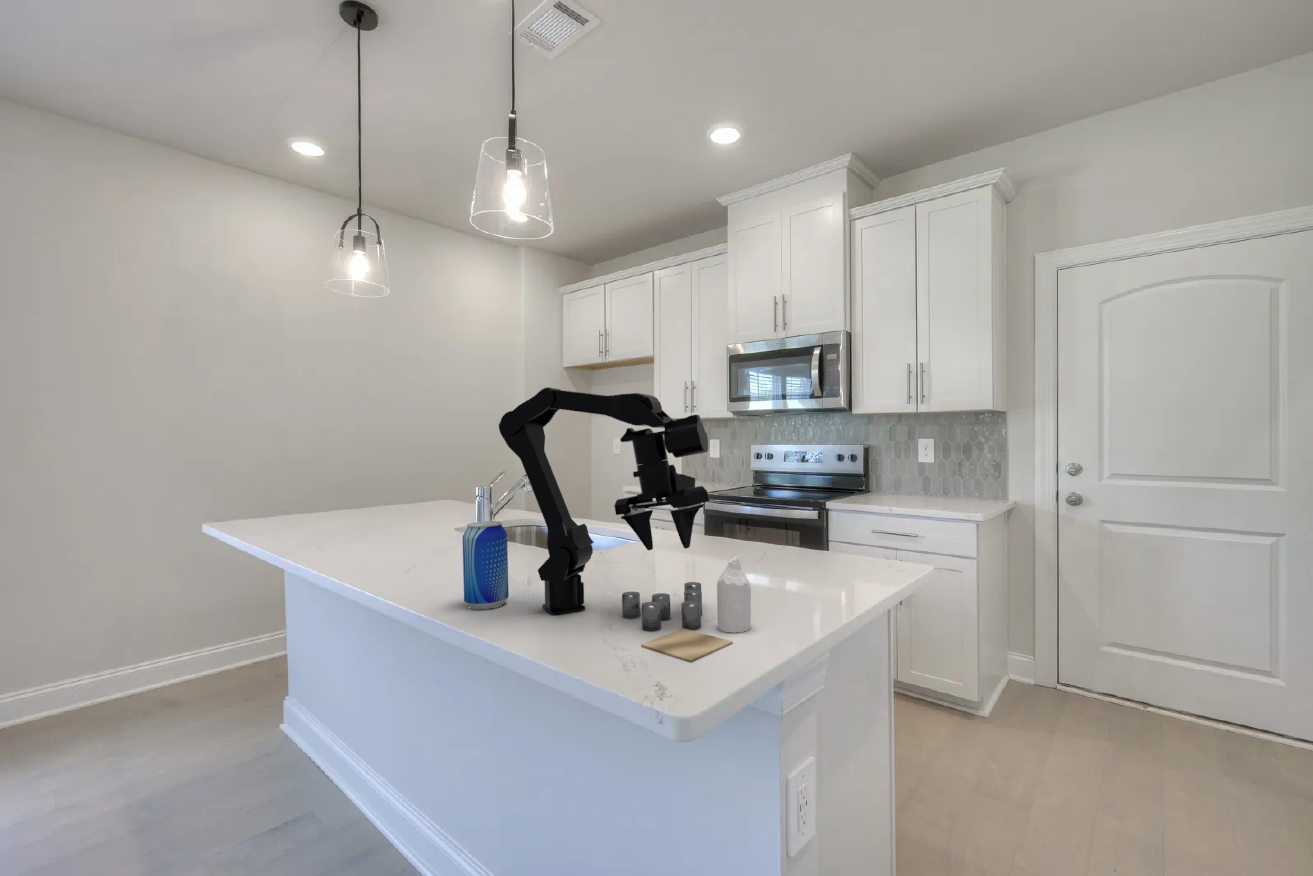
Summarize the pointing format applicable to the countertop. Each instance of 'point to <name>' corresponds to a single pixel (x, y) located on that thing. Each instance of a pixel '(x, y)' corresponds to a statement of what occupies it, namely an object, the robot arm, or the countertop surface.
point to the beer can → (485, 565)
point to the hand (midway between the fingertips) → (668, 549)
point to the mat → (687, 644)
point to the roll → (733, 599)
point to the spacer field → (665, 608)
